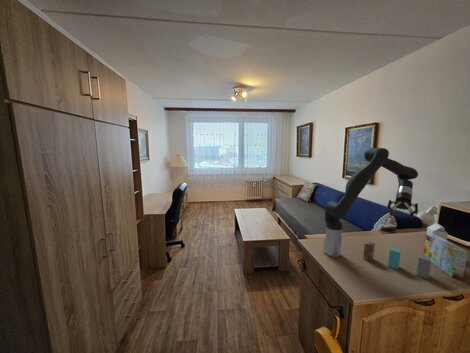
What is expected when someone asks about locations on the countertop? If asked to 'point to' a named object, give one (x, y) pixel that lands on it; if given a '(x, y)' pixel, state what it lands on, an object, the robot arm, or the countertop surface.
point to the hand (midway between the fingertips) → (400, 217)
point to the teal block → (394, 258)
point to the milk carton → (437, 231)
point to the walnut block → (369, 251)
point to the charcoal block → (423, 266)
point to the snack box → (445, 255)
